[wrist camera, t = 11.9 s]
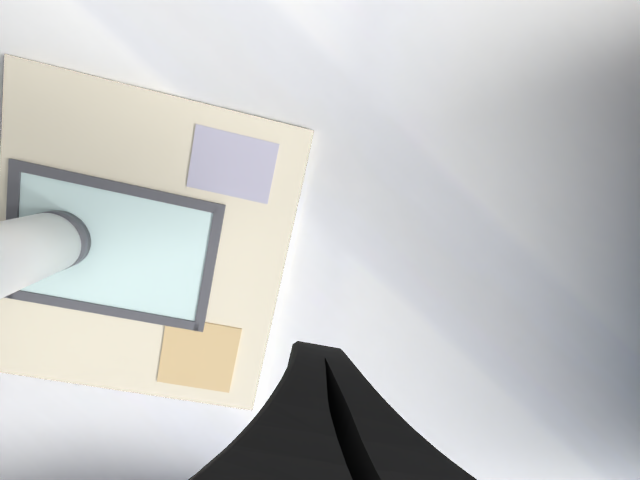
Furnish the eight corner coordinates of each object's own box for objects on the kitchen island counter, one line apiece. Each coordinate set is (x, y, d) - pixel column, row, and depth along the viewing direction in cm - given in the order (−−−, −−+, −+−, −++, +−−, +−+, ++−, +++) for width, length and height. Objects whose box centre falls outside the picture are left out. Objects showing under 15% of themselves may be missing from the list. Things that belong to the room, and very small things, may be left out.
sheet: (252, 405, 21) (251, 412, 21) (-3, 366, 20) (-12, 373, 19) (313, 131, 18) (314, 130, 17) (11, 55, 16) (0, 52, 16)
